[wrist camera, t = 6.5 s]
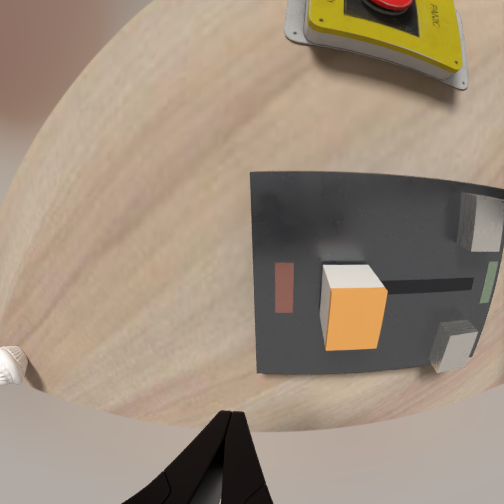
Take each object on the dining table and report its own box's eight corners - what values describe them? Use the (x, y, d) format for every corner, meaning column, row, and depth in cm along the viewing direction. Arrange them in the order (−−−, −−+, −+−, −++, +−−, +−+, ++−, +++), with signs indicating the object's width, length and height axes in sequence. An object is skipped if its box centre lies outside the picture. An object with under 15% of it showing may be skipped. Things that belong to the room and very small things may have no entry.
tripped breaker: (368, 264, 17) (387, 291, 13) (362, 314, 18) (376, 348, 14) (322, 265, 17) (331, 292, 14) (319, 315, 18) (325, 350, 15)
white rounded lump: (27, 373, 31) (3, 397, 24) (5, 342, 30) (-21, 364, 23) (39, 367, 29) (12, 394, 23) (15, 332, 28) (-15, 356, 21)
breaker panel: (495, 187, 16) (525, 194, 12) (463, 345, 20) (481, 369, 17) (253, 171, 19) (245, 173, 15) (259, 358, 23) (254, 390, 19)
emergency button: (291, -68, 9) (478, -7, 8) (291, -37, 13) (456, 11, 12) (281, 15, 12) (495, 85, 11) (282, 43, 16) (464, 94, 15)
